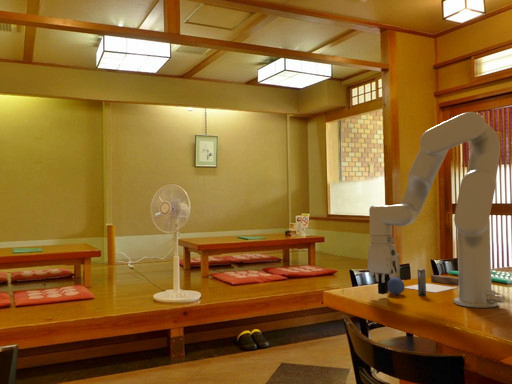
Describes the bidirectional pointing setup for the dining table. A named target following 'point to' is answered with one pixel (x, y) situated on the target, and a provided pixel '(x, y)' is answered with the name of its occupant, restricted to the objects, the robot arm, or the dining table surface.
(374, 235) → the robot arm
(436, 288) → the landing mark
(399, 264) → the skincare box
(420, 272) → the near post
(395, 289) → the ball
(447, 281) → the strip
